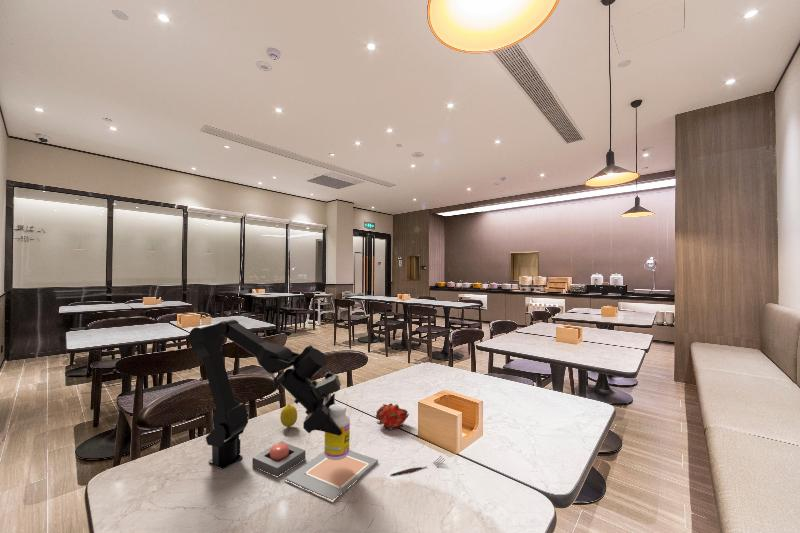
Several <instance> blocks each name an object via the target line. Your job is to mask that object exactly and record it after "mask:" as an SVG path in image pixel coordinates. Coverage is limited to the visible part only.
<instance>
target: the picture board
mask: <svg viewBox="0 0 800 533" xmlns="http://www.w3.org/2000/svg"><path fill="white" fill-rule="evenodd" d="M378 463H379V460H378V459H377V458H373V457H371V456H367V455H365V454H362V453H359V452H356V451H354V450H350V449H349V454H348V455H347V456H346V457H345V458H343V459H341V460H330V459H328V458H326V456H325V454H324V451H323V452H322V453H320V454H319V455H318V456H316V457H314V458H313V459H311V460H310V461H309V462H307V463H305V464H304V465H302V466H301V467H300V468H298V469H297V470H295V471H293V472H292V473H291V474H289V475H288V476H286V477H285V478H284V481H285V480H287V481H289V482H292V483H294V484H296V485H298V486H301V487H302V488H304V489H307V490H310V491H312V492H315V493H317V494H319V495H321V496H324V497H326V498H329V499H331V500H333V499H334V498H336V497H337V496H339V495H340V494H341V493H343V492H344V491H345V490H346V489H347V488H348V487H349V486H350V485H352V484H353V483H354V482H355V481H356V480H358V479H359V478H360V477H361V476H362V477H363V475H364V474H365V475H366V474H367V473H368V472H369V471H370V470H371V469H373V467H375V466H376V465H377V464H378ZM365 475H364V476H365ZM362 477H361V478H362ZM361 478H360V479H361ZM360 479H359V480H360ZM359 480H358V481H359ZM353 485H354V484H353ZM353 485H352V486H353ZM344 493H345V492H344ZM344 493H343V494H344Z"/></svg>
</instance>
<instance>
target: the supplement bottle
mask: <svg viewBox="0 0 800 533" xmlns="http://www.w3.org/2000/svg"><path fill="white" fill-rule="evenodd" d="M329 409H331V418H332V419H333V420H334V421H335V423H336V424H337V425H338V427H339V428H340V429H341V431H342V434H341V435H340V436H338V435H335V434H331V433H327V432H324V447H323V448H324V451H323V452H324V454H325V456H326V458H328V459H330V460H341V459H343V458H345V457H346V456H347V455H348V454H349V450H350V436H351V435H350V431H351V430H350V429H351V428H350V427H351V424H350V423H351V422H350V416H349V415H348V414H347V405H346V404H344V403H335V404H333V405H331V406H330V407H329Z"/></svg>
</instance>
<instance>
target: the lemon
mask: <svg viewBox="0 0 800 533" xmlns="http://www.w3.org/2000/svg"><path fill="white" fill-rule="evenodd" d="M297 419H298V411H297V408H296V406H294V405H293V404H290V403H288V404H287V405H285V406H284V407H283V408H282V409H281V411H280V423H281V424H282V425H283V426H284V427H285V428H288V429H290V428H291V427H292V426H294V425H295V424H296V422H297Z"/></svg>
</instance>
